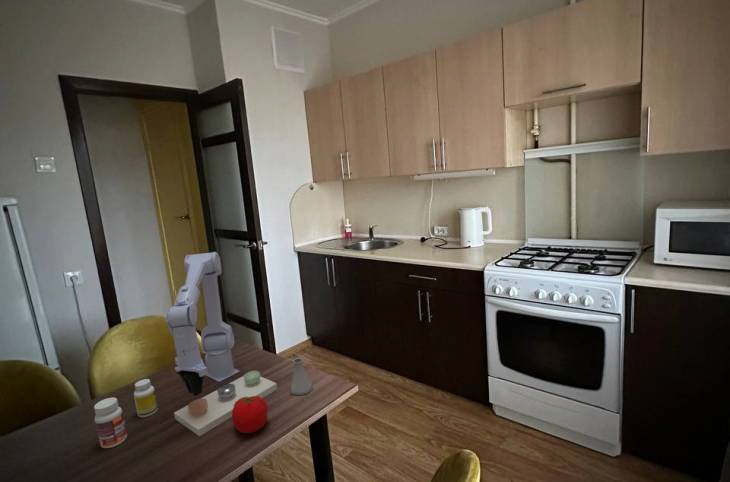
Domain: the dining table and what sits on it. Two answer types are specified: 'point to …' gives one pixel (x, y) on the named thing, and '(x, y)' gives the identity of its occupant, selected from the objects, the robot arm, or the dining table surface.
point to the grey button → (226, 390)
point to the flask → (300, 379)
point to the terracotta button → (198, 406)
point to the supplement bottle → (145, 398)
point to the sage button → (251, 377)
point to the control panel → (222, 405)
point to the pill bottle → (110, 423)
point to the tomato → (249, 414)
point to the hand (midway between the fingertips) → (195, 392)
